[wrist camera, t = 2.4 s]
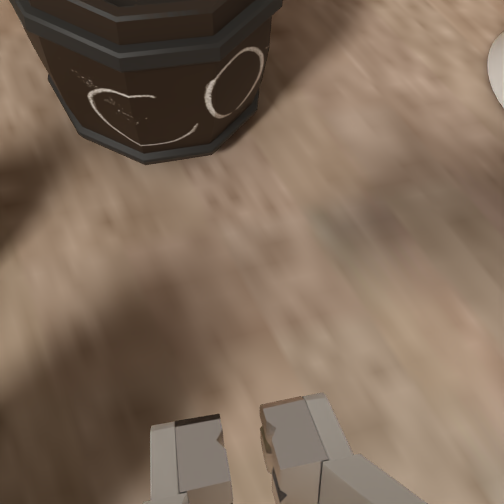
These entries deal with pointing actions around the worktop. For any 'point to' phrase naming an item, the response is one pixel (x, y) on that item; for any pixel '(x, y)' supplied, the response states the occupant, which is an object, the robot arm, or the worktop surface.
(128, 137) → the black short wide cylinder
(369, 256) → the worktop surface
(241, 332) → the worktop surface
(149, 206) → the worktop surface
